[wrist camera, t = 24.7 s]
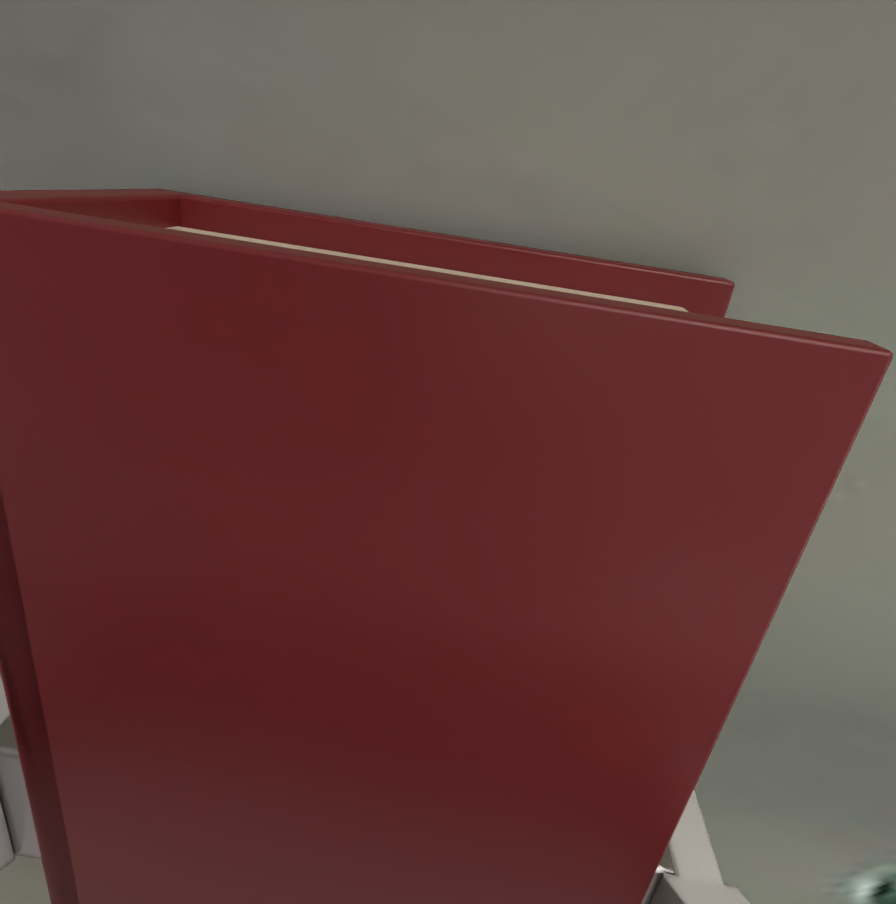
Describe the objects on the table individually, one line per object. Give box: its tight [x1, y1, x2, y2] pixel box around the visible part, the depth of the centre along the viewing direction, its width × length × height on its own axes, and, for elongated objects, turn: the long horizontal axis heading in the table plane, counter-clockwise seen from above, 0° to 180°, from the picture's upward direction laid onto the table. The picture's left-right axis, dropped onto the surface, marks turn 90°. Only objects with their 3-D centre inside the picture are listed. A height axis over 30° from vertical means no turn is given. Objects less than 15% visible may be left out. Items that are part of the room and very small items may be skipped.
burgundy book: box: [0, 189, 893, 904], centre depth 8 cm, size 13×6×3 cm, turn 172°
